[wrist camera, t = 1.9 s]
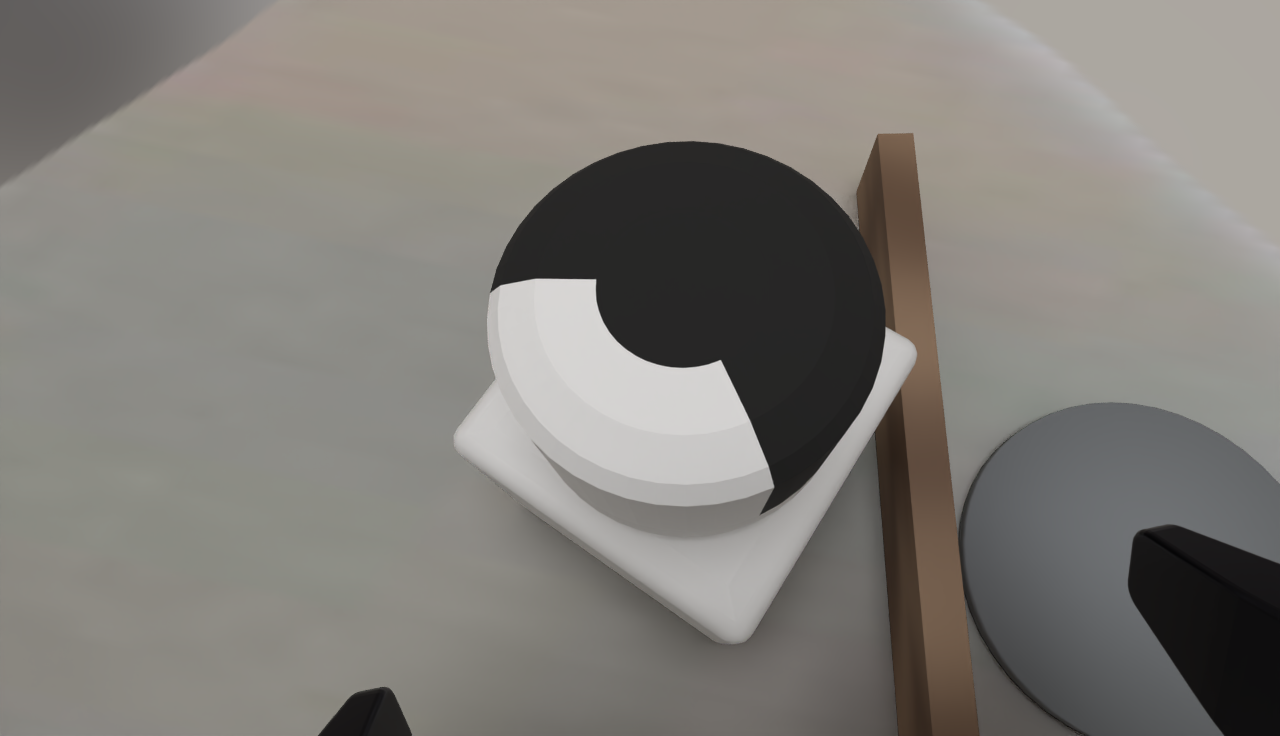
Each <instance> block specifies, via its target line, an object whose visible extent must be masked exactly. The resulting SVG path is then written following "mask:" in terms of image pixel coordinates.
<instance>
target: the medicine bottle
mask: <svg viewBox="0 0 1280 736" xmlns="http://www.w3.org/2000/svg"><path fill="white" fill-rule="evenodd" d="M487 330H488V346H489V352H490V357H491V362H492V368H493V371H494V374H495V377H496V379H495V380H494V382H493V383H492V384H491V385H490V387H489V388H488V389H487V391H486V392H485V393H484V395H483V396H482V397H481V398H480V400H479V401H478V402H477V404H476V405H475V406H474V408H473V409H472V410H471V411H470V413H469V414H468V415H467V417H466V418H465V419H464V421H463V422H462V423H461V424H460V426H459V427H458V428H457V430H456V432H455V434H454V437H453V438H454V447H455V449H456V450H457V452H458V453H459V454H460V455H461V456H462V457H463V458H465V459H466V460H467V461H468V462H470V463H471V464H472V465H473V466H474V467H476V468H477V469H478V470H479V471H481V472H482V473H483V474H484V475H485V476H487V477H488V478H489V479H490V480H492V481H493V482H494V483H495V484H496V485H498V486H499V487H500V488H501V489H503V490H504V491H505V492H506V493H507V494H509V495H510V496H511V497H512V498H514V499H515V500H516V501H517V502H519V503H520V504H521V505H522V506H523V507H525V508H526V509H528V510H529V511H530V512H532V513H533V514H535V515H536V516H537V517H539V518H540V519H542V520H543V521H545V522H546V523H547V524H549V525H550V526H552V527H553V528H554V529H556V530H557V531H559V532H560V533H562V534H563V535H564V536H566V537H567V538H569V539H570V540H571V541H573V542H574V543H576V544H577V545H579V546H580V547H581V548H583V549H584V550H586V551H587V552H588V553H590V554H591V555H593V556H594V557H595V558H597V559H598V560H600V561H601V562H603V563H604V564H605V565H607V566H608V567H610V568H611V569H612V570H614V571H615V572H617V573H618V574H620V575H621V576H622V577H624V578H625V579H627V580H628V581H629V582H631V583H632V584H634V585H635V586H637V587H638V588H639V589H641V590H642V591H644V592H645V593H646V594H648V595H649V596H651V597H652V598H654V599H655V600H656V601H658V602H659V603H661V604H662V605H663V606H665V607H666V608H668V609H669V610H670V611H672V612H673V613H675V614H676V615H678V616H679V617H680V618H682V619H683V620H685V621H686V622H687V623H689V624H690V625H692V626H693V627H695V628H696V629H697V630H699V631H700V632H702V633H703V634H704V635H706V636H707V637H709V638H710V639H712V640H713V641H714V642H717V643H720V644H739V643H744V642H745V641H747V640H748V639H749V638H750V637H751V636H752V635H753V633H754V631H755V630H756V628H757V626H758V625H759V623H760V621H761V620H762V618H763V616H764V615H765V613H766V611H767V610H768V608H769V606H770V605H771V603H772V601H773V600H774V598H775V596H776V595H777V593H778V591H779V590H780V588H781V586H782V585H783V583H784V581H785V580H786V578H787V576H788V575H789V573H790V571H791V570H792V568H793V566H794V565H795V563H796V561H797V560H798V558H799V556H800V555H801V553H802V551H803V550H804V548H805V546H806V545H807V543H808V541H809V540H810V538H811V536H812V535H813V533H814V531H815V530H816V528H817V526H818V525H819V523H820V521H821V520H822V518H823V516H824V515H825V513H826V511H827V510H828V508H829V506H830V505H831V503H832V501H833V500H834V498H835V496H836V495H837V493H838V491H839V490H840V488H841V486H842V485H843V483H844V481H845V480H846V478H847V476H848V475H849V473H850V471H851V470H852V468H853V466H854V465H855V463H856V461H857V460H858V458H859V456H860V455H861V453H862V451H863V450H864V448H865V446H866V445H867V443H868V441H869V440H870V438H871V436H872V435H873V433H874V431H875V430H876V428H877V426H878V425H879V423H880V421H881V420H882V418H883V416H884V415H885V413H886V411H887V410H888V408H889V406H890V405H891V403H892V401H893V400H894V398H895V396H896V395H897V393H898V391H899V390H900V388H901V386H902V385H903V383H904V381H905V380H906V378H907V376H908V375H909V373H910V371H911V370H912V368H913V366H914V365H915V362H916V358H917V351H916V348H915V345H914V344H913V343H912V342H911V341H910V340H909V339H907V338H905V337H903V336H901V335H900V334H898V333H896V332H894V331H892V330H891V329H889V328H887V327H886V309H885V303H884V296H883V290H882V284H881V281H880V278H879V274H878V271H877V268H876V265H875V262H874V259H873V257H872V255H871V253H870V251H869V249H868V247H867V245H866V243H865V241H864V238H863V237H862V235H861V234H860V232H859V231H858V229H857V228H856V226H855V225H854V223H853V222H852V220H851V219H850V218H849V216H848V215H847V214H846V213H845V212H844V211H843V210H842V208H841V207H840V206H839V205H838V204H837V203H836V202H835V201H834V200H833V198H832V197H830V196H829V195H828V194H827V193H826V192H824V191H823V190H822V189H821V188H820V187H819V186H817V185H816V184H815V183H814V182H813V181H811V180H810V179H808V178H806V177H805V176H803V175H802V174H800V173H799V172H797V171H796V170H794V169H792V168H791V167H789V166H787V165H785V164H783V163H780V162H778V161H776V160H774V159H772V158H770V157H768V156H765V155H762V154H759V153H756V152H753V151H750V150H747V149H744V148H739V147H734V146H729V145H724V144H719V143H708V142H696V141H687V142H666V143H659V144H653V145H646V146H641V147H637V148H634V149H630V150H626V151H623V152H619V153H616V154H614V155H611V156H609V157H607V158H604V159H602V160H599V161H597V162H594V163H593V164H591V165H589V166H587V167H586V168H584V169H582V170H580V171H578V172H577V173H575V174H573V175H572V176H570V177H569V178H567V179H566V180H565V181H563V182H562V183H561V184H559V185H558V186H557V187H555V188H554V189H553V190H551V191H550V192H549V193H548V194H547V195H546V196H545V197H544V198H543V199H542V200H541V201H540V202H539V203H538V204H537V205H536V206H535V207H534V208H533V209H532V210H531V212H530V213H529V214H528V215H527V217H526V218H525V219H524V220H523V221H522V223H521V224H520V225H519V227H518V228H517V230H516V232H515V233H514V235H513V237H512V238H511V240H510V241H509V243H508V245H507V246H506V249H505V251H504V253H503V256H502V258H501V260H500V262H499V265H498V267H497V269H496V273H495V277H494V281H493V284H492V288H491V292H490V298H489V306H488V315H487Z"/></svg>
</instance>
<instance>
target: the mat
mask: <svg viewBox="0 0 1280 736" xmlns="http://www.w3.org/2000/svg"><path fill="white" fill-rule="evenodd" d="M1166 524H1174V525H1178V526H1181V527H1184V528H1187V529H1189V530H1192V531H1195V532H1197V533H1200V534H1203V535H1205V536H1208V537H1211V538H1213V539H1216V540H1219V541H1221V542H1224V543H1226V544H1229V545H1232V546H1234V547H1237V548H1240V549H1242V550H1245V551H1248V552H1250V553H1253V554H1256V555H1258V556H1261V557H1264V558H1266V559H1269V560H1272V561H1274V562H1277V563H1280V484H1279V483H1278V482H1277V481H1276V480H1275V479H1274V478H1273V477H1272V476H1271V475H1270V474H1269V473H1268V472H1267V470H1266V469H1265V468H1264V467H1263V466H1262V465H1260V464H1259V463H1258V462H1257V461H1256V460H1255V459H1253V458H1252V457H1251V456H1250V455H1249V454H1247V453H1246V452H1245V451H1244V450H1243V449H1241V448H1240V447H1238V446H1237V445H1235V444H1234V443H1233V442H1231V441H1230V440H1228V439H1227V438H1225V437H1224V436H1222V435H1220V434H1219V433H1217V432H1215V431H1213V430H1211V429H1209V428H1208V427H1206V426H1204V425H1202V424H1200V423H1198V422H1195V421H1193V420H1191V419H1188V418H1186V417H1183V416H1181V415H1178V414H1175V413H1172V412H1168V411H1165V410H1162V409H1158V408H1154V407H1148V406H1143V405H1137V404H1128V403H1094V404H1086V405H1081V406H1075V407H1070V408H1067V409H1064V410H1061V411H1058V412H1055V413H1052V414H1049V415H1047V416H1045V417H1043V418H1041V419H1039V420H1037V421H1035V422H1033V423H1031V424H1030V425H1028V426H1027V427H1025V428H1023V429H1022V430H1021V431H1019V432H1018V433H1016V434H1015V435H1013V436H1012V437H1010V438H1009V439H1008V440H1006V441H1005V442H1004V443H1003V444H1002V445H1001V446H1000V447H999V448H998V449H997V450H996V451H995V452H994V453H993V454H992V455H991V456H990V458H989V459H988V460H987V461H986V463H985V464H984V465H983V466H982V468H981V470H980V471H979V473H978V475H977V477H976V478H975V480H974V482H973V484H972V486H971V488H970V491H969V493H968V496H967V499H966V501H965V504H964V509H963V513H962V517H961V522H960V531H959V543H958V546H959V555H960V564H961V573H962V582H963V589H964V592H965V595H966V598H967V602H968V605H969V608H970V611H971V614H972V616H973V618H974V620H975V622H976V625H977V627H978V629H979V631H980V634H981V635H982V637H983V639H984V640H985V642H986V644H987V646H988V647H989V649H990V651H991V652H992V654H993V656H994V657H995V658H996V660H997V661H998V662H999V663H1000V665H1001V666H1002V667H1003V669H1004V670H1005V671H1006V673H1007V674H1008V675H1009V677H1010V678H1011V679H1012V680H1013V681H1014V682H1015V683H1016V684H1017V685H1018V686H1019V687H1020V688H1021V689H1022V690H1023V691H1024V692H1025V693H1026V695H1028V696H1029V697H1030V698H1031V699H1032V700H1034V701H1035V702H1036V703H1037V704H1038V705H1039V706H1041V707H1042V708H1043V709H1044V710H1045V711H1046V712H1048V713H1049V714H1051V715H1052V716H1054V717H1055V718H1057V719H1058V720H1060V721H1061V722H1063V723H1064V724H1066V725H1067V726H1069V727H1071V728H1073V729H1075V730H1076V731H1078V732H1080V733H1082V734H1084V735H1086V736H1224V735H1223V734H1222V732H1221V731H1220V730H1219V729H1218V727H1217V726H1216V725H1215V723H1214V722H1213V721H1212V719H1211V718H1210V717H1209V715H1208V714H1207V712H1206V711H1205V709H1204V708H1203V707H1202V705H1201V704H1200V702H1199V701H1198V699H1197V698H1196V696H1195V695H1194V693H1193V692H1192V690H1191V689H1190V687H1189V686H1188V684H1187V683H1186V681H1185V680H1184V678H1183V677H1182V675H1181V674H1180V672H1179V671H1178V669H1177V668H1176V666H1175V665H1174V663H1173V662H1172V660H1171V659H1170V657H1169V656H1168V654H1167V653H1166V651H1165V650H1164V648H1163V647H1162V645H1161V644H1160V642H1159V641H1158V639H1157V638H1156V636H1155V635H1154V633H1153V632H1152V630H1151V629H1150V627H1149V626H1148V624H1147V623H1146V621H1145V620H1144V618H1143V617H1142V615H1141V614H1140V612H1139V611H1138V609H1137V608H1136V606H1135V605H1134V603H1133V601H1132V599H1131V597H1130V594H1129V590H1128V574H1129V566H1130V558H1131V549H1132V541H1133V537H1134V536H1135V534H1136V533H1137V532H1138V531H1140V530H1142V529H1147V528H1151V527H1156V526H1161V525H1166Z"/></svg>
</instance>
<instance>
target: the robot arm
mask: <svg viewBox="0 0 1280 736" xmlns="http://www.w3.org/2000/svg"><path fill="white" fill-rule="evenodd" d="M1128 590H1129V594H1130V597H1131V599H1132V601H1133V603H1134V605H1135V606H1136V608H1137V609H1138V611H1139V612H1140V614H1141V615H1142V617H1143V618H1144V620H1145V621H1146V623H1147V624H1148V626H1149V627H1150V629H1151V630H1152V632H1153V633H1154V635H1155V636H1156V638H1157V639H1158V641H1159V642H1160V644H1161V645H1162V647H1163V648H1164V650H1165V651H1166V653H1167V654H1168V656H1169V657H1170V659H1171V660H1172V662H1173V663H1174V665H1175V666H1176V668H1177V669H1178V671H1179V672H1180V674H1181V675H1182V677H1183V678H1184V680H1185V681H1186V683H1187V684H1188V686H1189V687H1190V689H1191V690H1192V692H1193V693H1194V695H1195V696H1196V698H1197V699H1198V701H1199V702H1200V704H1201V705H1202V707H1203V708H1204V709H1205V711H1206V712H1207V714H1208V715H1209V717H1210V718H1211V719H1212V721H1213V722H1214V723H1215V725H1216V726H1217V727H1218V729H1219V730H1220V731H1221V732H1222V734H1223V735H1224V736H1280V563H1277V562H1274V561H1272V560H1269V559H1266V558H1264V557H1261V556H1258V555H1256V554H1253V553H1250V552H1248V551H1245V550H1242V549H1240V548H1237V547H1234V546H1232V545H1229V544H1226V543H1224V542H1221V541H1219V540H1216V539H1213V538H1211V537H1208V536H1205V535H1203V534H1200V533H1197V532H1195V531H1192V530H1189V529H1187V528H1184V527H1181V526H1178V525H1174V524H1166V525H1161V526H1156V527H1151V528H1147V529H1142V530H1140V531H1138V532H1137V533H1136V534H1135V536H1134V537H1133V541H1132V549H1131V558H1130V566H1129V574H1128ZM318 736H412V733H411V731H410V728H409V726H408V724H407V722H406V719H405V717H404V715H403V713H402V710H401V708H400V706H399V704H398V701H397V699H396V697H395V695H394V693H393V692H392V690H391V689H389V688H388V687H380V688H375V689H370V690H365V691H360V692H357V693H355V694H353V695H352V696H351V697H350V698H349V699H348V700H347V701H346V702H345V703H344V705H343V706H342V707H341V708H340V710H339V711H338V712H337V713H336V714H335V716H334V717H333V718H332V719H331V720H330V722H329V723H328V724H327V725H326V726H325V728H324V729H323V730H322V731H321V733H320V734H319V735H318Z"/></svg>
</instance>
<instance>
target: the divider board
mask: <svg viewBox="0 0 1280 736" xmlns="http://www.w3.org/2000/svg"><path fill="white" fill-rule="evenodd" d="M857 203H858V216H859V229H860V234H861V235H862V237H863V238H864V241H865V243H866V245H867V247H868V249H869V251H870V253H871V255H872V257H873V259H874V262H875V265H876V268H877V271H878V274H879V278H880V281H881V284H882V290H883V296H884V303H885V309H886V327H887V328H889V329H891V330H892V331H894V332H896V333H898V334H900V335H901V336H903V337H905V338H907V339H909V340H910V341H911V342H912V343H913V344H914V345H915V348H916V351H917V358H916V362H915V365H914V366H913V368H912V370H911V371H910V373H909V375H908V376H907V378H906V380H905V381H904V383H903V385H902V386H901V388H900V390H899V391H898V393H897V395H896V396H895V398H894V400H893V401H892V403H891V405H890V406H889V408H888V410H887V411H886V413H885V415H884V416H883V418H882V420H881V421H880V423H879V425H878V426H877V428H876V430H875V436H876V449H877V462H878V475H879V488H880V501H881V514H882V527H883V539H884V552H885V565H886V578H887V591H888V604H889V617H890V630H891V643H892V656H893V669H894V682H895V695H896V707H897V720H898V733H899V736H979V727H978V718H977V709H976V700H975V691H974V682H973V673H972V664H971V655H970V646H969V637H968V627H967V618H966V609H965V600H964V591H963V582H962V573H961V564H960V555H959V546H958V537H957V527H956V518H955V509H954V500H953V491H952V482H951V473H950V464H949V455H948V446H947V437H946V427H945V418H944V409H943V400H942V391H941V382H940V373H939V364H938V355H937V346H936V337H935V327H934V318H933V309H932V300H931V291H930V282H929V273H928V264H927V255H926V246H925V237H924V227H923V218H922V209H921V200H920V191H919V182H918V173H917V164H916V155H915V146H914V137H913V133H907V134H878V135H877V138H876V140H875V143H874V146H873V148H872V151H871V154H870V157H869V159H868V162H867V165H866V167H865V170H864V173H863V176H862V178H861V181H860V184H859V187H858V189H857Z"/></svg>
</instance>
